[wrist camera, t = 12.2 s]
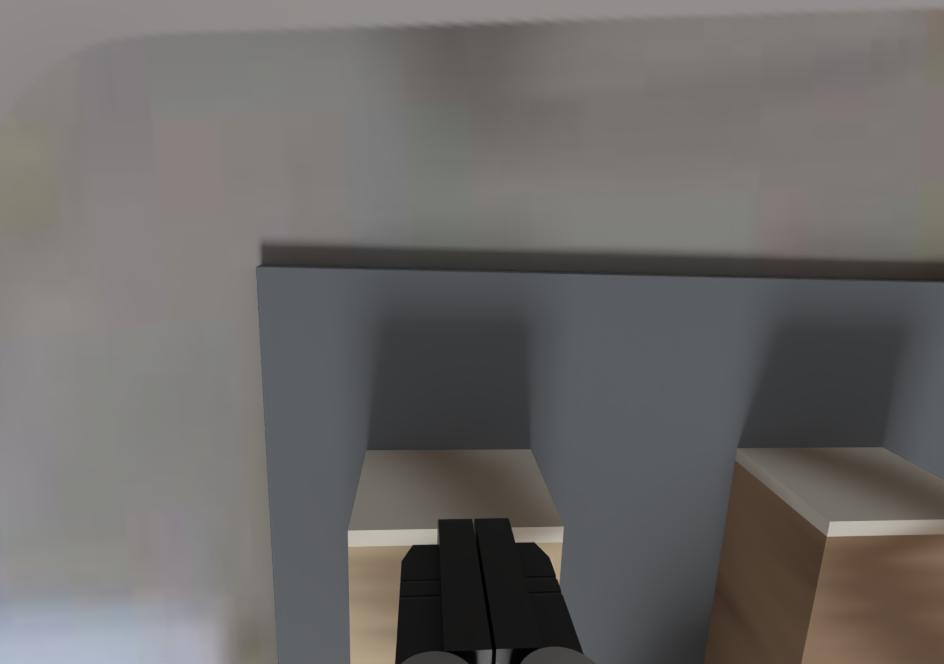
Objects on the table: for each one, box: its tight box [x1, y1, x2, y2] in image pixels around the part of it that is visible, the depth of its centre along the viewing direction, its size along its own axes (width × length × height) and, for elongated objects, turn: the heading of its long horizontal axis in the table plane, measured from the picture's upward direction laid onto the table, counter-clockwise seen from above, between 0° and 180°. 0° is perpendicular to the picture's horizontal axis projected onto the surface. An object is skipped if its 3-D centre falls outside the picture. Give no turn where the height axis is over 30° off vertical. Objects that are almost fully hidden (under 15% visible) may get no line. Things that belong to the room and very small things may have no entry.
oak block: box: [348, 449, 564, 664], centre depth 19 cm, size 6×5×11 cm
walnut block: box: [704, 447, 944, 664], centre depth 20 cm, size 6×5×11 cm
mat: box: [256, 265, 944, 664], centre depth 22 cm, size 27×18×1 cm, turn 88°
